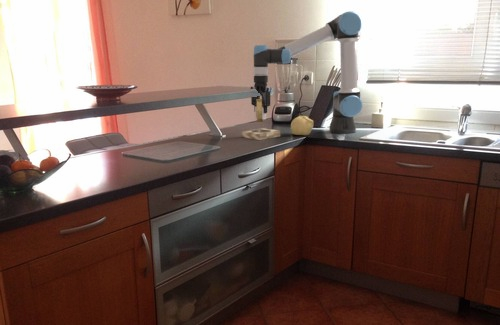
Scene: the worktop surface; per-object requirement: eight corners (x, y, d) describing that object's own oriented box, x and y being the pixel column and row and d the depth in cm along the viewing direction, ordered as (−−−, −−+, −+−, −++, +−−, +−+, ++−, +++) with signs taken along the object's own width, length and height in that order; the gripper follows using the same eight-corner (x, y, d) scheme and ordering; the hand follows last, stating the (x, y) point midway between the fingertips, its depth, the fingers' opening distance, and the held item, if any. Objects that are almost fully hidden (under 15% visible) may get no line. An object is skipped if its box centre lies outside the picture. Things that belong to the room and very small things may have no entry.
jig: (280, 136, 244) (280, 130, 243) (259, 140, 233) (259, 133, 233) (262, 133, 254) (262, 127, 253) (241, 136, 243) (241, 131, 242)
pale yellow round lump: (316, 135, 245) (316, 116, 242) (297, 137, 240) (298, 117, 237) (305, 132, 255) (305, 113, 252) (287, 134, 250) (287, 115, 247)
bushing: (267, 121, 242) (267, 99, 239) (260, 122, 238) (260, 99, 236) (260, 120, 245) (260, 98, 242) (254, 121, 242) (254, 99, 239)
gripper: (277, 75, 232) (277, 119, 238) (254, 74, 245) (254, 116, 250) (267, 75, 227) (267, 120, 233) (244, 74, 240) (244, 117, 245)
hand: (260, 118), depth 241 cm, fingers closed on bushing, 5 cm apart
